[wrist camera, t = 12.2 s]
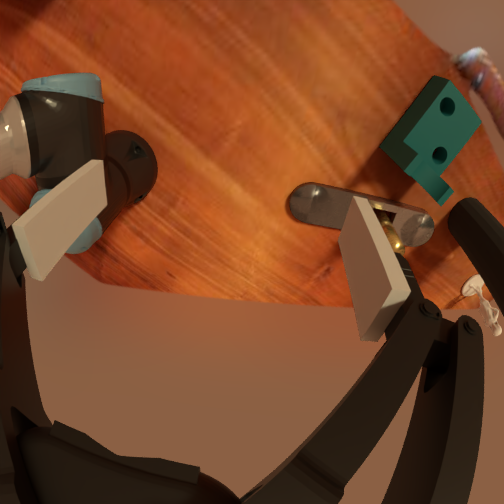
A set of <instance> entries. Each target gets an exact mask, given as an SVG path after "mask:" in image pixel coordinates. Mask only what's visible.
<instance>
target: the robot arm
mask: <svg viewBox="0 0 504 504" xmlns="http://www.w3.org/2000/svg"><path fill="white" fill-rule="evenodd" d="M21 91H22V93H20V94H17V95H15V96H12V97H10V98H9V100H8V102H7V103H6V105H5V106H4V108H3V110H2V111H1V112H0V180H1V179H3V178H5V177H7V176H9V175H11V174H16V175H18V176H20V177H23V178H25V179H27V178H30V177H32V176H34V175H35V177H36V182H37V186H38V192H37V193H35V195H34V196H33V199H32V200H31V204H30V206H29V209H28V210H27V211H26V212H25V213H23V215H21V216H20V217H19V218H18V219H17V220H16V221H15V222H14V223H13V224H12V225H11V226H10V227H8V228H7V229H6V226H5V222H4V219H3V216H2V213H1V212H0V504H338V503H339V501H340V500H341V499H342V497H343V495H344V487H345V485H346V484H347V483H348V481H349V480H350V479H351V478H352V476H353V475H354V474H355V473H356V471H357V470H358V468H359V467H360V466H361V465H362V463H363V462H364V461H365V459H366V458H367V457H368V455H369V454H370V453H371V451H372V450H373V448H374V447H375V445H376V444H377V442H378V441H379V440H380V438H381V437H382V435H383V434H384V432H385V430H386V429H387V427H388V426H389V424H390V422H391V421H392V419H393V418H394V416H395V415H396V413H397V411H398V409H399V408H400V406H401V404H402V403H403V401H404V399H405V397H406V396H407V394H408V392H409V390H410V388H411V386H412V385H413V383H414V381H415V379H416V377H417V375H418V373H419V371H420V369H421V367H422V372H421V377H420V382H419V387H418V392H417V396H416V400H415V405H414V409H413V413H412V417H411V420H410V425H409V428H408V431H407V435H406V438H405V441H404V445H403V448H402V451H401V454H400V457H399V460H398V463H397V466H396V468H395V471H394V474H393V477H392V479H391V482H390V484H389V487H388V489H387V492H386V494H385V497H384V499H383V501H382V503H381V504H467V502H468V498H469V495H470V491H471V486H472V482H473V478H474V473H475V468H476V462H477V457H478V451H479V444H480V436H481V427H482V417H483V402H484V346H483V334H482V330H481V327H480V326H479V324H478V323H477V322H476V320H475V319H473V318H471V317H470V316H467V315H462V316H461V317H459V319H458V320H457V321H456V322H455V323H454V322H452V321H449V320H447V319H444V318H442V314H441V311H440V309H439V308H438V307H437V306H436V305H435V304H434V303H433V302H432V301H430V300H428V299H425V298H424V296H423V294H422V292H421V290H420V287H419V285H418V283H417V281H416V278H414V274H413V272H412V271H411V268H410V266H409V264H408V261H407V260H406V259H405V258H404V257H403V256H402V255H401V254H400V253H397V252H394V251H393V249H392V247H391V245H390V243H389V241H388V239H387V237H386V235H385V233H384V231H383V229H382V227H381V225H380V223H379V221H378V219H377V217H376V215H375V213H374V211H373V209H372V207H371V206H370V204H369V202H368V200H367V199H365V198H361V197H357V196H353V198H352V201H351V204H350V207H349V210H348V213H347V216H346V219H345V222H344V224H343V227H342V230H341V233H340V236H339V239H338V243H339V247H340V251H341V254H342V258H343V262H344V267H345V271H346V275H347V279H348V283H349V288H350V292H351V297H352V301H353V306H354V310H355V315H356V320H357V325H358V330H359V335H360V340H361V341H375V342H378V340H379V339H380V337H381V336H382V335H383V333H384V332H385V336H386V340H387V341H386V342H385V343H384V345H383V346H382V347H381V349H380V350H379V351H378V352H377V354H376V355H375V357H374V359H373V360H372V362H371V363H370V364H369V366H368V367H367V368H366V370H365V371H364V372H363V374H362V375H361V376H360V377H359V379H358V380H357V381H356V383H355V384H354V385H353V386H352V388H351V389H350V390H349V391H348V393H347V394H346V395H345V396H344V397H343V399H342V400H341V401H340V402H339V403H338V405H337V406H336V407H335V408H334V409H333V410H332V412H331V413H330V414H329V415H328V416H327V417H326V418H325V419H324V421H323V422H322V423H321V424H320V425H319V426H318V427H317V428H316V429H315V430H314V431H313V433H312V434H311V435H310V436H309V437H308V438H307V439H306V440H305V441H304V442H303V443H302V444H301V445H300V446H299V447H298V448H297V449H296V450H295V451H294V452H293V453H292V454H291V455H290V456H289V457H288V458H287V459H286V460H285V461H284V462H283V463H282V464H280V465H279V466H278V467H277V468H276V469H275V470H274V471H273V472H272V473H270V474H269V475H268V476H267V477H266V478H264V479H263V480H262V481H261V482H260V483H258V484H257V485H256V486H255V487H254V488H253V489H251V490H250V491H249V492H248V493H246V494H245V495H244V496H243V497H241V498H240V499H239V498H238V497H237V496H236V495H235V494H234V493H233V492H232V491H231V490H230V489H229V488H228V487H226V486H225V485H224V484H222V483H221V482H219V481H217V480H216V479H214V478H212V477H210V476H208V475H206V474H204V473H201V472H200V467H197V466H192V465H187V464H183V463H178V462H174V461H169V460H165V459H161V458H143V457H126V456H119V455H116V454H114V453H113V452H111V451H110V450H108V449H107V448H105V447H103V446H102V445H100V444H99V443H98V442H96V441H95V440H93V439H92V438H90V437H89V436H88V435H86V434H85V433H83V432H80V431H78V430H76V429H73V428H71V427H69V426H66V425H65V424H62V423H60V422H58V421H56V420H55V421H54V424H53V425H52V423H51V421H50V420H49V419H48V417H47V415H46V413H45V411H44V409H43V406H42V402H41V398H40V393H39V389H38V385H37V380H36V375H35V370H34V365H33V359H32V352H31V345H30V338H29V330H28V320H27V309H26V291H25V277H24V274H23V271H24V270H25V269H26V267H27V269H28V272H29V274H30V276H31V278H34V279H37V280H40V281H43V280H44V279H45V277H46V276H47V275H48V273H49V272H50V271H51V270H52V268H53V267H54V266H55V264H56V263H57V262H58V261H59V259H60V258H61V257H62V256H63V254H64V253H70V254H78V253H82V252H84V251H86V250H88V249H89V248H90V247H91V246H92V245H93V244H94V243H95V241H97V240H99V238H100V237H101V236H102V234H103V233H104V231H105V230H106V229H107V228H108V226H109V225H110V224H111V223H112V221H113V220H114V219H115V217H116V216H117V215H118V214H119V213H120V211H121V210H122V209H123V208H124V207H126V206H129V205H131V204H134V203H136V202H138V201H140V200H141V199H143V198H144V197H145V196H146V195H147V194H148V193H149V192H150V190H151V189H152V188H153V186H154V184H155V182H156V178H157V172H158V167H157V161H156V157H155V155H154V152H153V150H152V149H151V147H150V146H149V144H148V143H147V142H146V141H145V140H144V139H143V138H142V137H140V136H139V135H137V134H135V133H133V132H130V131H125V130H118V131H113V132H110V133H108V134H106V135H105V126H104V112H103V104H104V99H102V89H101V80H100V78H99V77H98V76H97V75H95V74H93V73H70V74H60V75H53V76H48V77H42V78H36V79H32V80H28V81H26V82H24V83H23V85H22V88H21Z"/></svg>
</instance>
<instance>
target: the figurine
mask: <svg viewBox="0 0 504 504" xmlns="http://www.w3.org/2000/svg"><path fill="white" fill-rule="evenodd" d="M483 284H484V281H483V279H482V278H481V276H480V275H479V274H477V275H474V276H472V277H470V278H469V279H468V280H467V281H466V282H465V283H464V285H463V287H462V294H463V295H464V296H471V295H474V294H475V293H477V295H478V296H479V297H480V308H479V311H480V314H481V315H482V316H483V319H484V324H485V326H486V327H490V328H491V330H492V333H493V335H494V336H498V335H500V334H501V332H502V328H501V327H500V325H499V324H498V322H497V318H498V313H499V310H498V309H496V308H493V307H491V306H490V304H489V301H487V300H485V299H484V298H483V296H482V290H481V288H482V286H483ZM479 291H480V292H479ZM491 308H492V309H493V310H495V311H497V313H496V314H495V315H494V313H493V311H492V310H491ZM485 320H486V321H487V323H486V321H485Z"/></svg>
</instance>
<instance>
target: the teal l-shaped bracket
mask: <svg viewBox="0 0 504 504" xmlns="http://www.w3.org/2000/svg"><path fill="white" fill-rule="evenodd" d="M481 122H482V121H481V120H480V118H479V117H478V116H477V114H476V113H475V111H474V110H473V109H472V107H471V106H470V105H469V103H468V102H467V101H466V99H465V98H464V97H463V96H462V94H461V93H460V92H459V91H458V89H457V88H456V87H455V86H454V84H453V83H452V82H451V81H450V80H448V79H445V78H442V77H439V76H435V75H434V76H433V77H432V79H431V80H430V81H429V83H428V84H427V85H426V87H425V88H424V89H423V91H422V92H421V93H420V95H419V96H418V97H417V99H416V100H415V101H414V102H413V104H412V105H411V106H410V108H409V109H408V110H407V112H406V113H405V114H404V115H403V117H402V118H401V119H400V121H399V122H398V123H397V124H396V126H395V127H394V128H393V130H392V131H391V132H390V133H389V135H388V136H387V137H386V139H385V140H384V141H383V142H382V144H381V145H380V146H379V147H380V148H381V149H382V150H383V151H384V152H385V153H386V154H387V155H388V156H389V157H390V158H391V159H392V160H393V161H394V162H395V163H396V164H397V165H398V166H399V167H400V168H401V169H402V170H403V171H404V172H405V173H407V174H408V175H409V176H411V177H413V178H414V179H415V180H416V181H417V182H418V183H419V184H420V185H421V186H422V187H423V188H424V189H425V190H426V191H427V192H428V193H429V194H430V195H431V196H432V197H433V198H434V200H435V201H436V202H437V203H438V204H439V205H440V206H442V205H443V204H444V203H445V202H446V200H447V199H448V198H449V197H450V196H451V195H452V193H453V192H454V191H453V190H452V188H451V187H450V186H449V185H448V184H447V183H446V182H445V181H444V180H443V179H442V178H441V177H440V175H441V174H442V173H443V171H444V170H445V169H446V168H447V167H448V165H449V164H450V163H451V162H452V160H453V159H454V158H455V157H456V155H457V154H458V153H459V152H460V150H461V149H462V148H463V146H464V145H465V144H466V143H467V141H468V140H469V139H470V137H471V136H472V135H473V133H474V132H475V131H476V129H477V128H478V127H479V125H480V124H481ZM436 148H437V151H436V153H435V154H434V155H433V156H432V154H433V151H434V150H435V149H436Z"/></svg>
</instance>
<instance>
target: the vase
mask: <svg viewBox="0 0 504 504" xmlns="http://www.w3.org/2000/svg"><path fill="white" fill-rule="evenodd" d="M448 227H449V230H450V232H451V234H452V235H453V236H454V238H455V239H456V241H457V242H458V243H459V245H460V246H461V248H462V249H463V250H464V252H465V253H466V255H467V256H468V258H469V259H470V261H471V262H472V264H473V265H474V267H475V268H476V270H477V272H478V273H479V275H480V276H481V278H482V279H483V281H484V283H485V284H486V286H487V288H488V289H489V291H490V293H491V295H492V296H493V298H494V300H495V302H496V303H497V305H498V307H499V309H500V310H501V312H502V314H503V316H504V227H503V226H502V225H501V224H500V223H499V221H498V220H497V219H496V218H495V217H494V216H493V215H492V214H491V213H490V212H489V211H488V210H487V209H486V208H485V207H484V206H483V205H482V204H481V203H480V202H479V201H478V200H477V199H475V198H465V199H463V200H461V201H460V202H458V203H457V204H456V206H455V207H454V208H453V209H452V211H451V213H450V216H449V220H448Z"/></svg>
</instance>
